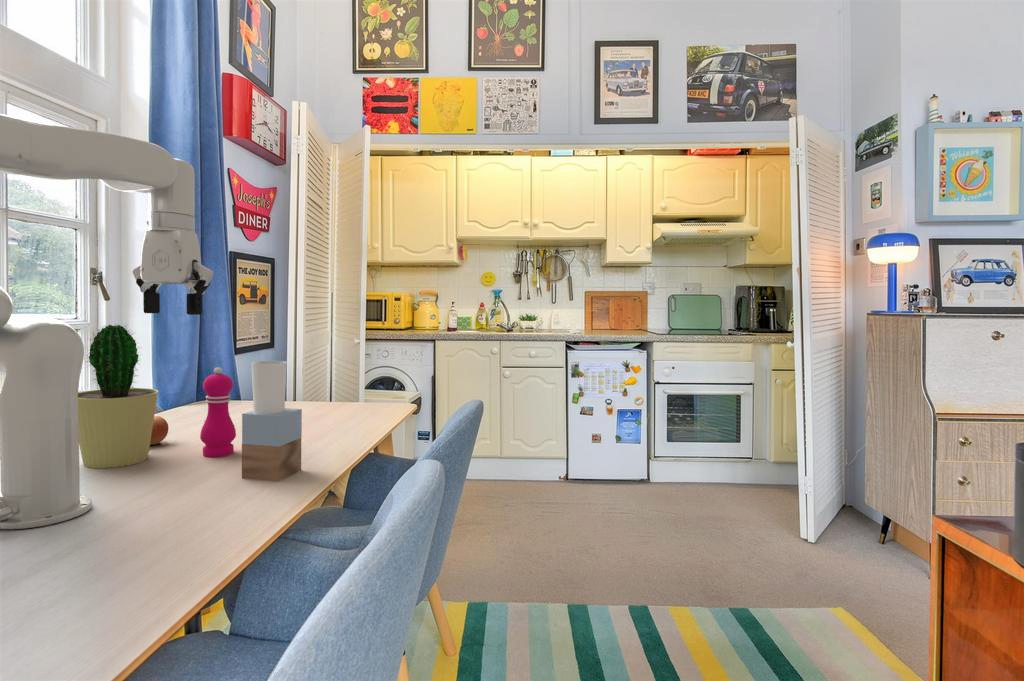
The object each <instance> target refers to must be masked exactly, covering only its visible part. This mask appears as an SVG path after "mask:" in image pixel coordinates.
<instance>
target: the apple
mask: <svg viewBox="0 0 1024 681" xmlns="http://www.w3.org/2000/svg"><path fill="white" fill-rule="evenodd" d="M168 433H169V424H168V422H167V420H166V419H165V418H164V417H162V416H159V415H157V416H155V415H154V421H153V427H152V433H151V440H150V446H151V445H157V444H159V443H162V442H163V441H164V440H165V439H166V437H167V436H168Z"/></svg>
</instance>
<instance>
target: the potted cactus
mask: <svg viewBox="0 0 1024 681" xmlns="http://www.w3.org/2000/svg"><path fill="white" fill-rule="evenodd" d="M123 325H124V324H123ZM123 325H120V324H119V323H117V324H116V323H115V325H112V324H108V325H105V326H104V327H101V329H98V328H96V331H97V330H98V331H97V333H96V335H95V332H92V336H93V337H92V336H91V339H90V338H87V340H89V341H90V342H91V341H92V342H91V343H90V345H88V346H87V348H86V347H85V348H84V351H87V352H88V351H89V352H88V355H87V357H86V358H85V360H86V359H87V360H86V361H85V363H87V364H88V363H89V365H87V366H86V368H87V367H89V366H90V367H91V366H92V367H93V368H94V369H93V371H92V372H91V374H93V373H94V375H95V378H93V379H91V381H94V382H93V383H97V384H98V385H96V387H97V386H99V387H98V389H92V390H85V391H78V420H79V451H80V455H81V460H82V464H83V466H84V467H86V468H89V467H90V468H91V469H111V468H110V467H113V468H120V467H119V466H121V467H126V466H125V465H127V466H131V465H130V464H132V465H135V463H136V464H138V463H141V462H144V461H147V459H148V456H149V452H150V446H151V445H150V440H151V433H152V427H153V421H154V416H155V413H156V408H157V401H158V393H159V390H158V389H155V388H149V387H147V388H145V387H144V388H143V387H133V386H132V384H133V383H134V382H135V383H138V382H137V381H135V380H134V377H138V376H139V377H140V375H138V374H135V371H138V368H137V367H136V365H137V364H138V365H141V364H140V361H141V359H139V356H141V354H140V351H138V350H139V349H142V346H138V347H137V344H139V342H137V341H136V339H135V338H133V335H134V334H135V333H136V332H133V329H131V331H130V329H128V327H127V325H128V324H125V325H124V326H123ZM132 332H133V335H132ZM140 347H141V348H140ZM88 348H89V349H88Z"/></svg>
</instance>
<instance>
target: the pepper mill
mask: <svg viewBox="0 0 1024 681" xmlns="http://www.w3.org/2000/svg"><path fill="white" fill-rule="evenodd" d="M213 373H214V374H210V375H208V376H207V377H206V378H205V379H204V381H203V384H202V388H203V391H204V392H205V394H206V396H205V398H206V400H205V402H206V403H207V414H206V418H205V421H204V422H203V425H202V427H201V430H200V435H199V436H200V441H201V442H202V443H203V444H204V446H203V447H202V455H203V456H204V457H207V458H220V457H226V456H230V455H232V454H233V453H234V451H235V450H234V444H233V443H232V442H233V441H234V439H235V438H236V437H237V432H236V428H235V424H234V423H233V420H232V418H231V416H230V415H231V414H230V411H229V403H230V401H231V395H230V392H231V391H232V390H233V387H234V382H233V380H232V378H231V377H230V376H229V375H226V374H224V373H223V368H221V367H219V366H217V367H214V369H213Z"/></svg>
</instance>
